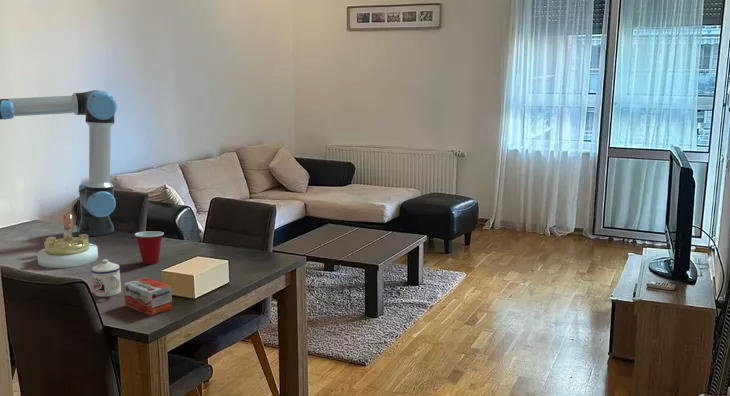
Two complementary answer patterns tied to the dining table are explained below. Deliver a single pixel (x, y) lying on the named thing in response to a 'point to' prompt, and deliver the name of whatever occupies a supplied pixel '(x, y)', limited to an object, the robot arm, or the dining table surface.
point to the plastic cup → (149, 246)
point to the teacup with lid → (106, 279)
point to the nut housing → (68, 258)
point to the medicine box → (148, 296)
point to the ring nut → (67, 240)
